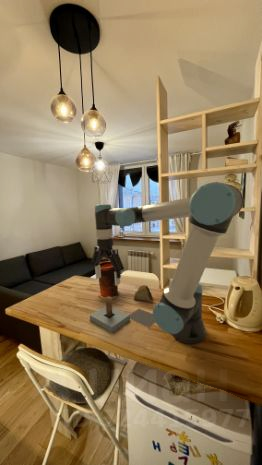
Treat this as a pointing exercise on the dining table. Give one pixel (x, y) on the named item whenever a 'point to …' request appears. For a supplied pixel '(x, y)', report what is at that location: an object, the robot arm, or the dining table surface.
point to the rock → (143, 293)
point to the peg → (109, 307)
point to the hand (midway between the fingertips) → (107, 281)
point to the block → (110, 319)
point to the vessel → (107, 280)
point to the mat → (143, 317)
